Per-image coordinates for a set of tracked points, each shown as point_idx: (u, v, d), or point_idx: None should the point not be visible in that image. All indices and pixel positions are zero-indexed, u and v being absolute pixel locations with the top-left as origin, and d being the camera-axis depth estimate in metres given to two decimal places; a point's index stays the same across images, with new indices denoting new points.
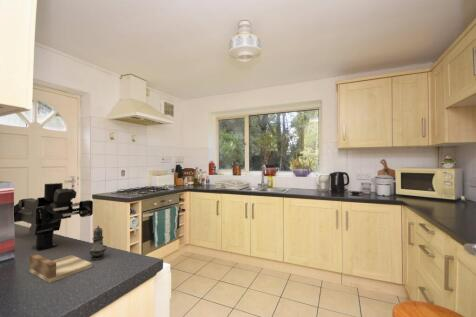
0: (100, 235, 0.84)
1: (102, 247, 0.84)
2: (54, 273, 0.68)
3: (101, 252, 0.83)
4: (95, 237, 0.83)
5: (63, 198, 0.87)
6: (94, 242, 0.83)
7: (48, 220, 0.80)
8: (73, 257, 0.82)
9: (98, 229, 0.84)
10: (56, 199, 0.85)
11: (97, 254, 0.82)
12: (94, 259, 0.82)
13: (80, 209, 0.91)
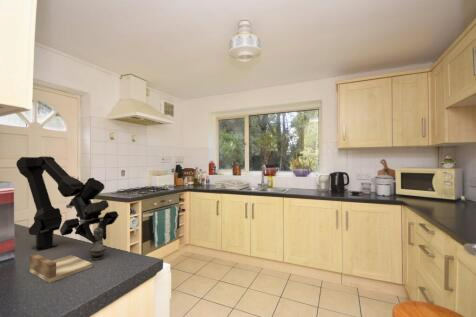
0: (100, 235, 0.84)
1: (102, 247, 0.84)
2: (54, 273, 0.68)
3: (101, 252, 0.83)
4: (95, 237, 0.83)
5: (94, 211, 0.85)
6: None
7: (81, 233, 0.83)
8: (73, 257, 0.82)
9: (98, 229, 0.84)
10: (88, 212, 0.84)
11: (97, 254, 0.82)
12: (94, 259, 0.82)
13: None
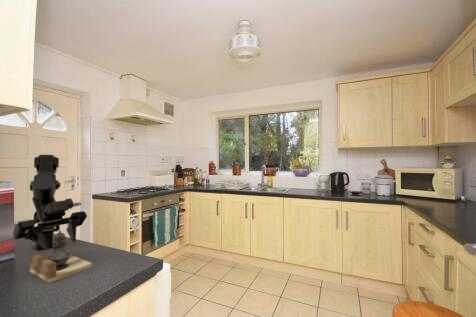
0: (62, 241, 0.73)
1: (64, 255, 0.73)
2: (54, 273, 0.68)
3: (62, 261, 0.73)
4: (55, 244, 0.73)
5: (56, 212, 0.75)
6: (54, 249, 0.73)
7: (33, 238, 0.71)
8: (73, 257, 0.82)
9: (59, 234, 0.73)
10: (48, 212, 0.73)
11: (57, 263, 0.72)
12: None
13: None
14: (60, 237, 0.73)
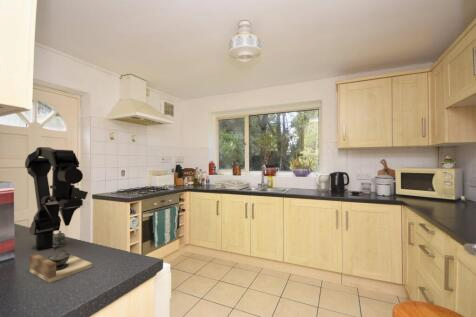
0: (62, 241, 0.73)
1: (64, 255, 0.73)
2: (54, 273, 0.68)
3: (62, 261, 0.73)
4: (55, 244, 0.73)
5: None
6: (54, 249, 0.73)
7: (64, 211, 0.82)
8: (73, 257, 0.82)
9: (59, 234, 0.73)
10: (78, 196, 0.89)
11: (57, 263, 0.72)
12: None
13: (55, 201, 0.89)
14: (60, 237, 0.73)
